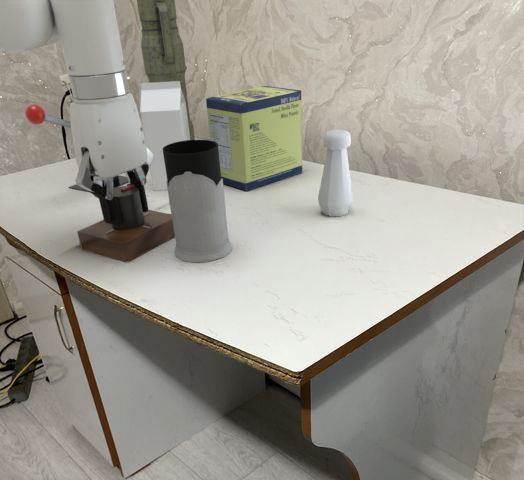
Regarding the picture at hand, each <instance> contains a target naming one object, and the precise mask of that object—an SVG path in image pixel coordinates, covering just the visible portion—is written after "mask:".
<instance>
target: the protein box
mask: <svg viewBox="0 0 524 480" xmlns="http://www.w3.org/2000/svg"><path fill="white" fill-rule="evenodd" d="M205 102H206V103H205V104H206V113H207V124H208V132H209V133H208V134H209V140H210V141H214V142H216V143H218V149H219V160H220V170H221V178H223V185H227V186H229V187H234V188H235V189H239V190H242V191H245V192H247V191H251V190H254V189H257V188H260V187H262V186H265V185H269V184H273V183H274V182H277V181H280V180H284V179H287V178H290V177H293V176H295V175H298V174H302V173H303V125H302V124H303V120H302V115H303V114H302V113H303V111H302V110H303V109H302V90H301V89H292V88H284V87H276V86H270V85H261V86H257V87H253V88H249V89H244V90H238V91H235V92H229V93H225V94H220V95H214V96H209V97H207V98H206V99H205Z"/></svg>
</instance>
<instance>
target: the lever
mask: <svg viewBox="0 0 524 480" xmlns="http://www.w3.org/2000/svg"><path fill="white" fill-rule="evenodd" d="M24 113H25V114H24V115H25V117H26V119H27V121H28V122H29V123H30V124H32V125H35V126H36V125H37V126H39V125H42V124H43V123H45V122H46V123H47V122H48V123H51V124H55V125H57V126H62V127H64V128H68V129H71V122H70V120H66V119H62V118H60V117H56V116H53V115H49V114H46V112H45V110H44V108H43V107H42V106H40V104H39V105H38V104H37V103H36V104H34V103H33V104H28V106H27V107H26V108H25V112H24Z"/></svg>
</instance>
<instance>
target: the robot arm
mask: <svg viewBox="0 0 524 480" xmlns="http://www.w3.org/2000/svg"><path fill="white" fill-rule="evenodd" d="M55 43H60V46H61V51H62V55H63V58H64V64H65V68H66V72H67V76H68V81H69V84H70V89H71V93H72V98H73V102H70V103H69V119H70V120H69V122H71V128H70V131H71V137H72V138H71V139H72V144H73V148H74V156H75V160H76V165H77V169H78V171H77V175H76V178H75V184H77V185H79V186H80V187H82V188H84V189H87V190H88V191H89V192H88V193H90V194H92V195H93V196H94V197H95V198H97V199H98V200H99V205H100V209H101V213H102V217H103V220H104V221H105V222H106V223H109V224H114V225H120V224H122V219H121V214H120V209H119V205H118V200H117V198H113V177H115V176H118V175H119V176H121V175H123V174H125V177H127V179H128V181H129V183H126V186H129V185H131V184H133V185H134V187H137V188H138V189H139V194H140V199H141V204H142V210H143V212H147V211H148V210H149V205H148V198H147V194H146V187H145V186H146V185H147V183H148V179H147V176H148V173H149V170H150V164H151V162H152V160H153V158H154V155H153V153H152V152H151V151H150V150H149V149H148V148H147V146H146V142H145V136H144V130H143V124H142V119H141V115H140V112H139V110H138V107H137V104H136V101H135V98H134V95H133V94H132V93H131V92H130V91H131V90H130V85H129V82H130V81H131V77H130V74H129V73H128V72H127V70H126V64H125V57H124V53H123V48H122V41H121V36H120V29H119V24H118V19H117V14H116V8H115V3H114V0H0V51H3V52H5V53H11V54H17V53H22V52H27V51H29V50H32V49H38V48H41V47H44V46H48V45H52V44H55ZM92 175H94V182H93V181H92V180H91V176H92ZM102 181H104V188H103V187H102Z"/></svg>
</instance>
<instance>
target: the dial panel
mask: <svg viewBox="0 0 524 480" xmlns="http://www.w3.org/2000/svg"><path fill="white" fill-rule="evenodd" d="M143 215H144V220H145V221H144V223H143V224H142V225H140V226H137V227H134V228H130V229H117V228H114V227H113V226H112V224H109V223H106V222H105V221H104V219H102V220H100V221H98V222H95V223H93V224H91V225H88V226H86V227H84V228H82V229H79V230H77V231H76V234H77V236H78V240H79V244H80V248H81V250H82V251H85V252H89V253H93V254H96V255H101V256H104V257H107V258H111V259H115V260H118V261H122V262H124V263H125V262H126V263H128V262H131V261H133V260H134V259H136V258H138V257H140V256H142V255H143V254H145V253H148V252H150V251H151V250H152V249H154V248H156V247H158V246H160V245H161V244H164V243H165V242H166V243H167V241H170V240H171V239H174V238H175V234H174V228H173V221H172V215H171V213H167V212H162V211H157V210H152V209H148V211H147V212H143Z"/></svg>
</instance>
